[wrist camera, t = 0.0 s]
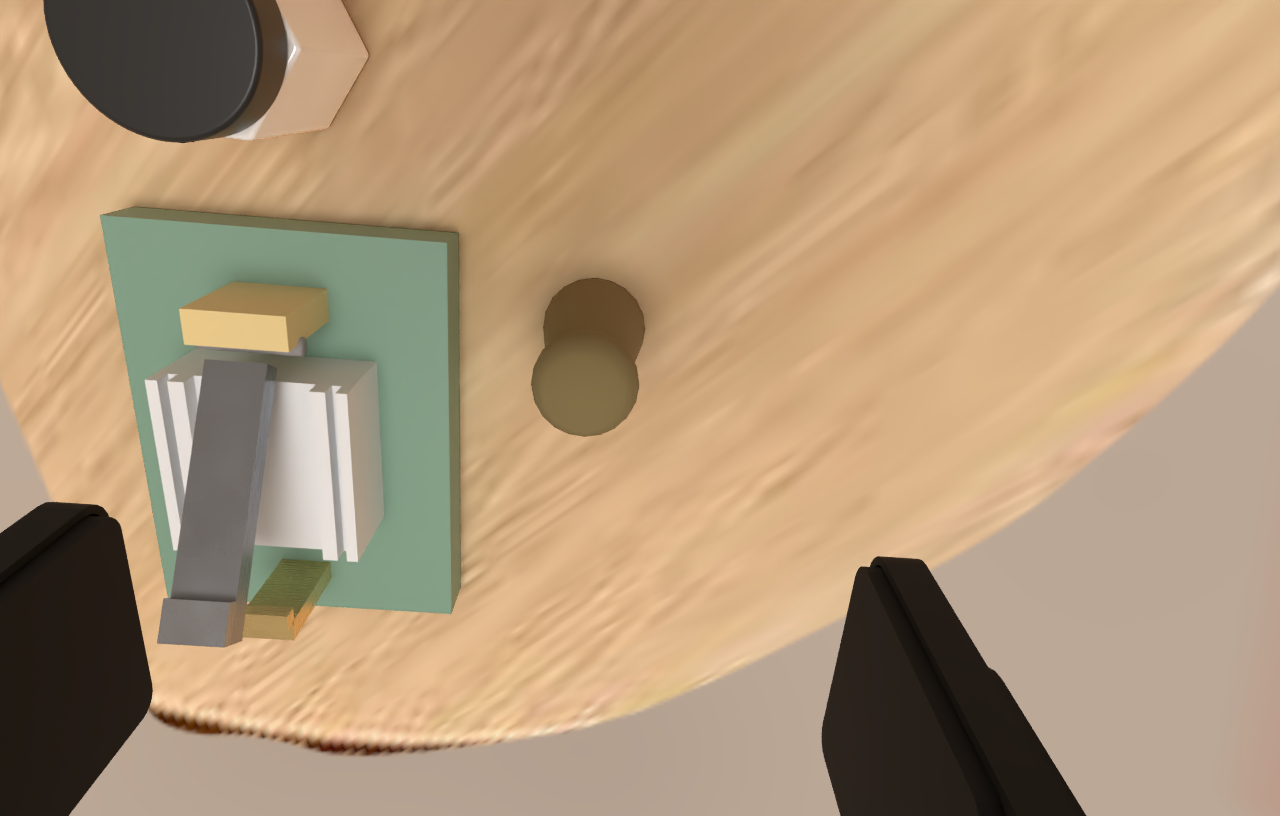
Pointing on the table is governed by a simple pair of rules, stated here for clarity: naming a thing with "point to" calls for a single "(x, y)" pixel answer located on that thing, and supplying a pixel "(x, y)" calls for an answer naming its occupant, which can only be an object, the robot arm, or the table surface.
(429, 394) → the board
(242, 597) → the strap
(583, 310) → the cork
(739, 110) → the table surface
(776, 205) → the table surface
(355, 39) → the jar
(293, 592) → the lug
